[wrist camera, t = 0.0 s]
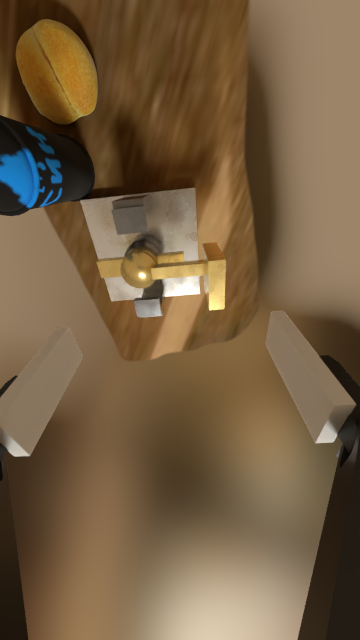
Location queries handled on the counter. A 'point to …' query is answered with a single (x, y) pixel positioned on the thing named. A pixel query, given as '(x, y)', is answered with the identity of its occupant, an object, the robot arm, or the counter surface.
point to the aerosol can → (40, 168)
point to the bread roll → (57, 71)
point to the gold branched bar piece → (170, 269)
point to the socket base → (160, 225)
